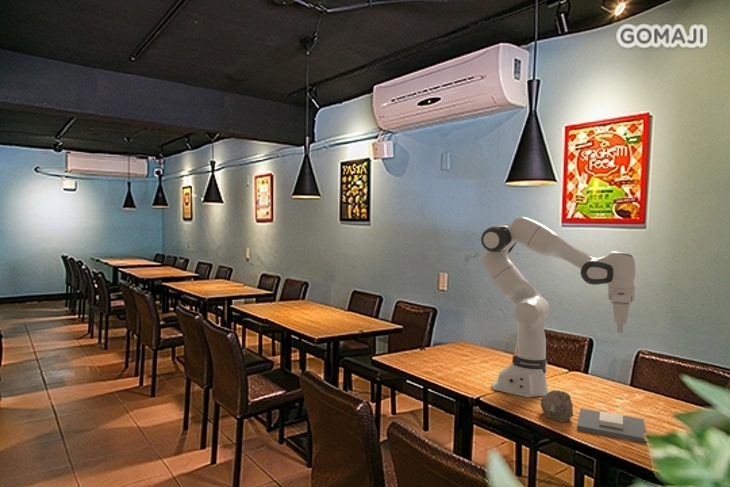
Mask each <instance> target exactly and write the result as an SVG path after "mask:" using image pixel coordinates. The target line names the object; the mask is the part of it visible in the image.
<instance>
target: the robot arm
mask: <svg viewBox="0 0 730 487" xmlns="http://www.w3.org/2000/svg"><path fill="white" fill-rule="evenodd" d="M480 241H481V245H482V247H483V248H484V249H485V250H486V251H487V252H486V253H484V254H483V257H482V260H481V262H482V265H483V267H484V269H485V270H486V273H488V275H489V278H491V280H492V281H493V283H494V284H495V285H496V287H497V288H498V289H499V291H500V292H501V294H502V295H503V296H504V297H506V298H507V299H509V300H510V302H512V304H514V305H515V308H514V318H515V324H516V331H517V332H516V333H517V353H514V354H513V355H512V358H511V363H510V365H508V366H506V367H505V368H503V369H502V370H500V372H499V373H498V377H497V379H496V380H494V381H493V383H492V385H491V388H492V389H493V390H495V391H498V392H503V393H507V394H511V395H515V396H518V397H519V396H520V397H525V398H533V397H544V396H545V395H547V393H549V392H550V391H549V388H548V382H547V368H548V360H547V357H546V356H547V355H546V354H547V351H546V350H547V346H546V345H547V338H546V333H545V319H547V317H548V316H549V313H550V305H549V302H548V300H547V299H546V298H544V297H543V296H542V295H541V293H540V292H539V291H538V290H537V289H536V288H535V287H534V286H533V285H531V283H530V282H529V281H528V280H527V279H526V278H525V276H523V275H522V273H521V272H520V270H519V269H518V268H517V267H516V265H515V264H514V263H513V261H512V260H511V259H510V257H509V256H508V255H509V253H511V252H512V250H513V249H514V247H515V246H516V244H517V243H518V244H520V245H522V246H524V247H525V248H527V249H529V250H531V251H532V252H534V253H537V254H539V255H541V256H545V257H554V258H559V259H562V260H564V261H566V262H568V263H570V264H571V265H573V266H575V267H577V268H578V269H580V276H581V278H582V280H583V281H584V282H585V283H587V284H589V285H593V286H598V285H604V284H605V285H606V284H607V300H609V301H610V303H611V305H612V311H613V318H614V319H613V320H614V323H615V324H616V333H618V334H623V331H624V330H623V329H624V325H627V322H628V317H629V310H630V306H631V304H632V302H635V297H636V296H635V294H636V287H635V278H636V262H635V258H634V256H633V255H632V254H630V253H627V252H622V251H616V250H614V251H611V252H610V253H607V254H606V255H604V256H600V257H594V256H591V255H589V254H587V253H585V252H584V251H582V250H580V249H578V248H576V247H574V246H573V245H571V244H569V243H568V242H566V240H564V239H563V238H562V237H561V236H559V235H558V234H557V233H556V232H554V231H553V230H551V229H550V228H548V227H547V226H545V225H544V224H542V223H540V222H538V221H536V220H534V219H531V218H528V217H525V216H519V217H516V218H514V220H513V221H512V222H511V224H497V225H495V226H490V227H488V228H487V229H485V230H484V231H483V232H482V234H481V238H480Z"/></svg>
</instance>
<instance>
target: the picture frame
mask: <svg viewBox="0 0 730 487" xmlns="http://www.w3.org/2000/svg"><path fill="white" fill-rule="evenodd" d="M599 412H600V418H599V425H603V426H609V427H614V428H620V429H623V416H624V415H623V414H619V413H613V412H606V411H599Z"/></svg>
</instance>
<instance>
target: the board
mask: <svg viewBox="0 0 730 487" xmlns="http://www.w3.org/2000/svg"><path fill="white" fill-rule="evenodd" d="M599 418H600V411H599V410H593V409H586V408H580V410H579V415H578V418H577V424H576V431H578V432H585V433H589V434H593V435H598V436H599V435H600V436H605V437H609V438H616V439H620V440H626V441H631V442H637V443H642V444H647V441H645V439H644V436H643V435H644V433H646V434H647V432H646V426H645V419H644V418H640V417H634V416H627V415H623V429H620V428H614V427H609V426H603V425H599Z"/></svg>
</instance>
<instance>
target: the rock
mask: <svg viewBox="0 0 730 487" xmlns="http://www.w3.org/2000/svg"><path fill="white" fill-rule="evenodd" d="M573 406H574V404H573V402H572V399H571V396H570V394H569V393H568V392H566V391H562V390H559V389H558V390H557V389H555V390H550V391H549V393H547V395H544V396H541V399H540V407H541V410H542V411H543V413H544V414H545V417H546V418H549V419H552V420H553V421H555V422H560V423H565V422H567V421H568V420H570V418H572V417H573V416H574V410H573V408H574V407H573Z"/></svg>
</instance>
